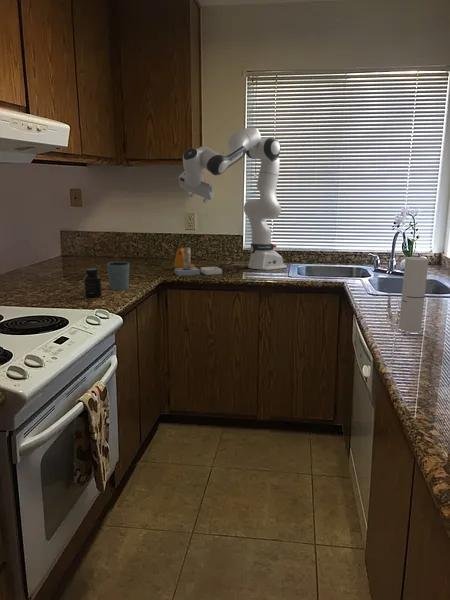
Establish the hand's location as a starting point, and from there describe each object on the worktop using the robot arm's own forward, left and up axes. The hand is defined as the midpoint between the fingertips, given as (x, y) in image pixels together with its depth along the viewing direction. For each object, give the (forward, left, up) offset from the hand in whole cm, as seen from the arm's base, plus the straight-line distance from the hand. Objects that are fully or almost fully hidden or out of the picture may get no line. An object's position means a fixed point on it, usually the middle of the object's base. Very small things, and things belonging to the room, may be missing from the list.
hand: (198, 199), depth 263 cm
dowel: (+8, +3, -39) cm, 40 cm away
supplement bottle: (+61, +41, -40) cm, 84 cm away
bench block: (+8, +3, -39) cm, 40 cm away
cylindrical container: (-35, +127, -40) cm, 138 cm away
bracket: (+5, -12, -40) cm, 42 cm away
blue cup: (+48, +29, -40) cm, 69 cm away
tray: (-5, +5, -39) cm, 40 cm away
